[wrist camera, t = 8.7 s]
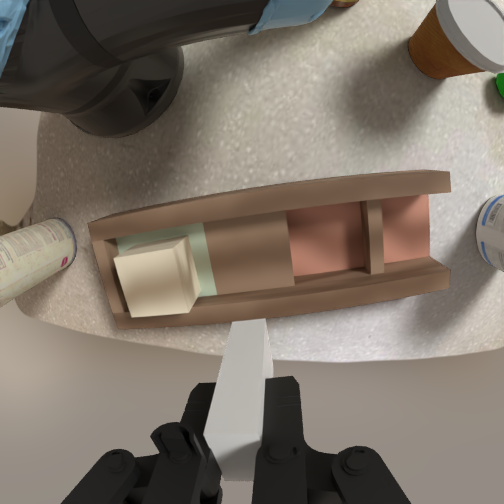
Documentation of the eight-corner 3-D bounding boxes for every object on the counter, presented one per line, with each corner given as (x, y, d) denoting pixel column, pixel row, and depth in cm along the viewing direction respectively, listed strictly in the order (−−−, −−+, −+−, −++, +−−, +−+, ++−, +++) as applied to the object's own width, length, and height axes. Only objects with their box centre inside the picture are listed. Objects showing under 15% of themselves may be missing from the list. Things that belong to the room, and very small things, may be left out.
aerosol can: (37, 250, 35) (-68, 305, 16) (48, 208, 33) (-72, 249, 14) (69, 276, 35) (-35, 349, 16) (82, 234, 34) (-40, 294, 14)
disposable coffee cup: (403, 87, 26) (459, 57, 15) (388, 16, 24) (429, -32, 12) (467, 97, 26) (530, 81, 14) (452, 30, 23) (504, -2, 11)
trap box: (112, 214, 33) (87, 223, 27) (424, 169, 29) (449, 171, 23) (137, 307, 36) (118, 329, 30) (427, 270, 32) (449, 288, 27)
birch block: (135, 244, 30) (113, 258, 25) (188, 234, 30) (172, 248, 25) (150, 296, 32) (131, 317, 27) (201, 290, 31) (188, 312, 26)
